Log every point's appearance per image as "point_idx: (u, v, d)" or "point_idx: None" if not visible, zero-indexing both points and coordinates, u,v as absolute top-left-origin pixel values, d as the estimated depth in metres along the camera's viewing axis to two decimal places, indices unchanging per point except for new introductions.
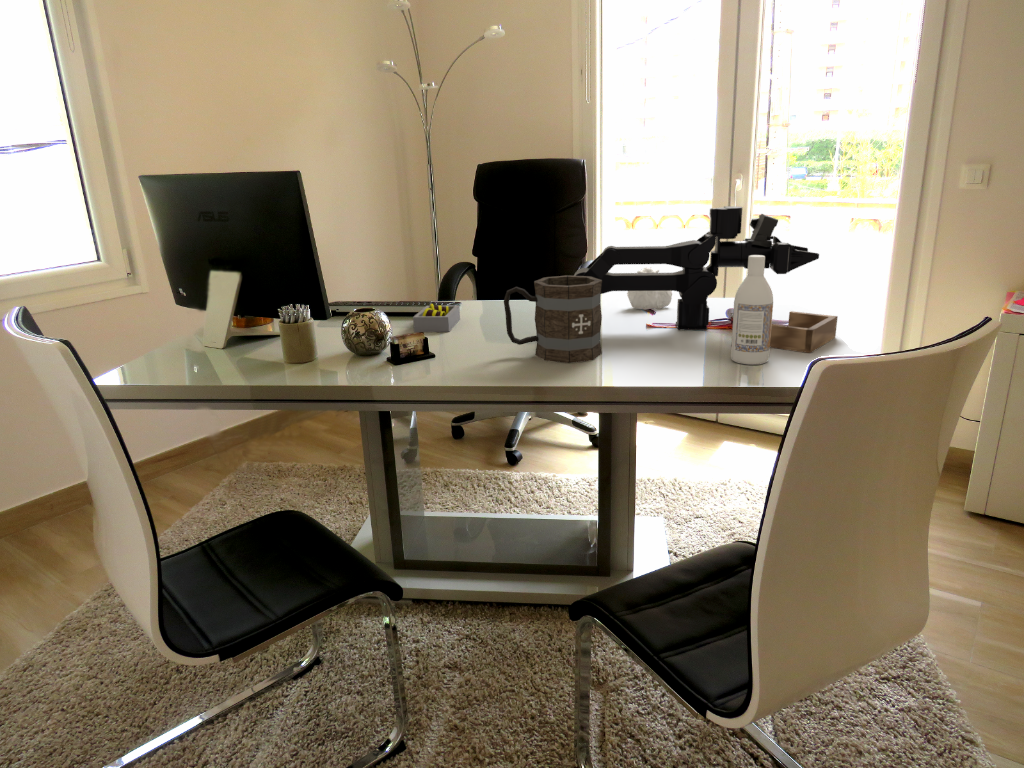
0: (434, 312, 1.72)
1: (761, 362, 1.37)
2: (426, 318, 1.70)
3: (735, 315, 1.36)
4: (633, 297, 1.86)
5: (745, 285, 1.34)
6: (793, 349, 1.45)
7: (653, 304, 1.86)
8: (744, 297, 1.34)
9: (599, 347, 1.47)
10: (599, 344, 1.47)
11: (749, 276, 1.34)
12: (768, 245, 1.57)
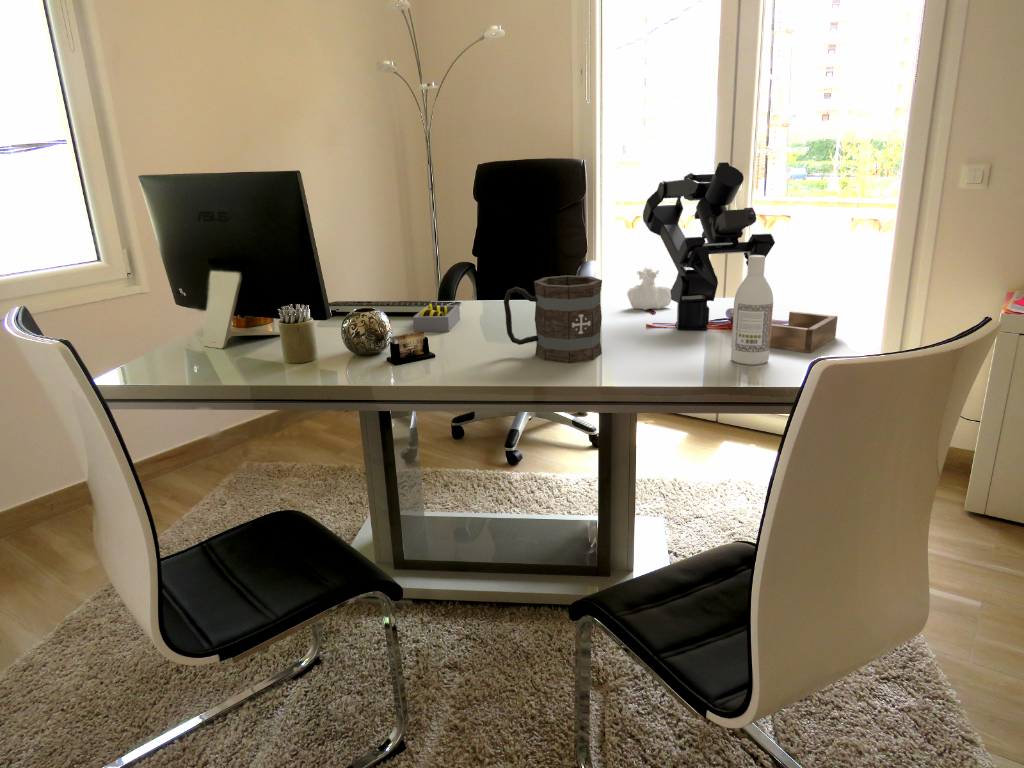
0: (431, 312, 1.72)
1: (761, 362, 1.37)
2: (426, 318, 1.70)
3: (735, 315, 1.36)
4: (633, 297, 1.86)
5: (745, 285, 1.34)
6: (793, 349, 1.45)
7: (653, 304, 1.86)
8: (744, 297, 1.34)
9: (599, 347, 1.47)
10: (599, 344, 1.47)
11: (749, 276, 1.34)
12: (713, 235, 1.46)
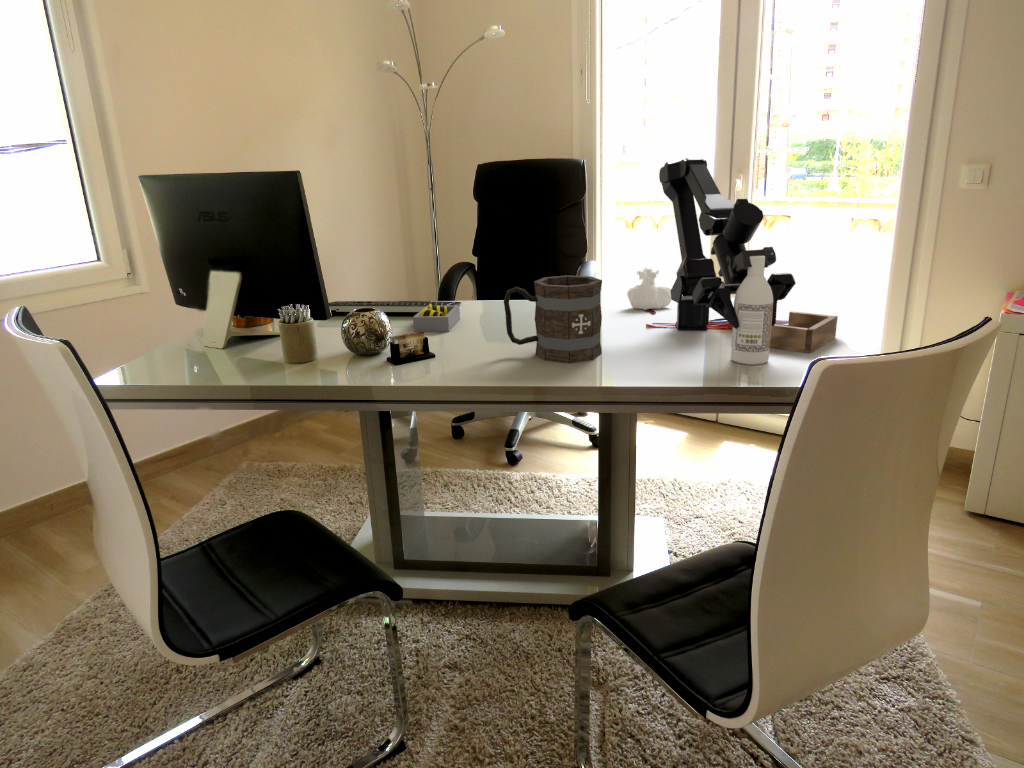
0: (431, 312, 1.72)
1: (761, 362, 1.37)
2: (426, 318, 1.70)
3: None
4: (633, 297, 1.86)
5: (745, 285, 1.34)
6: (793, 349, 1.45)
7: (653, 304, 1.86)
8: (744, 297, 1.34)
9: (599, 347, 1.47)
10: (599, 344, 1.47)
11: (749, 276, 1.34)
12: (730, 275, 1.39)
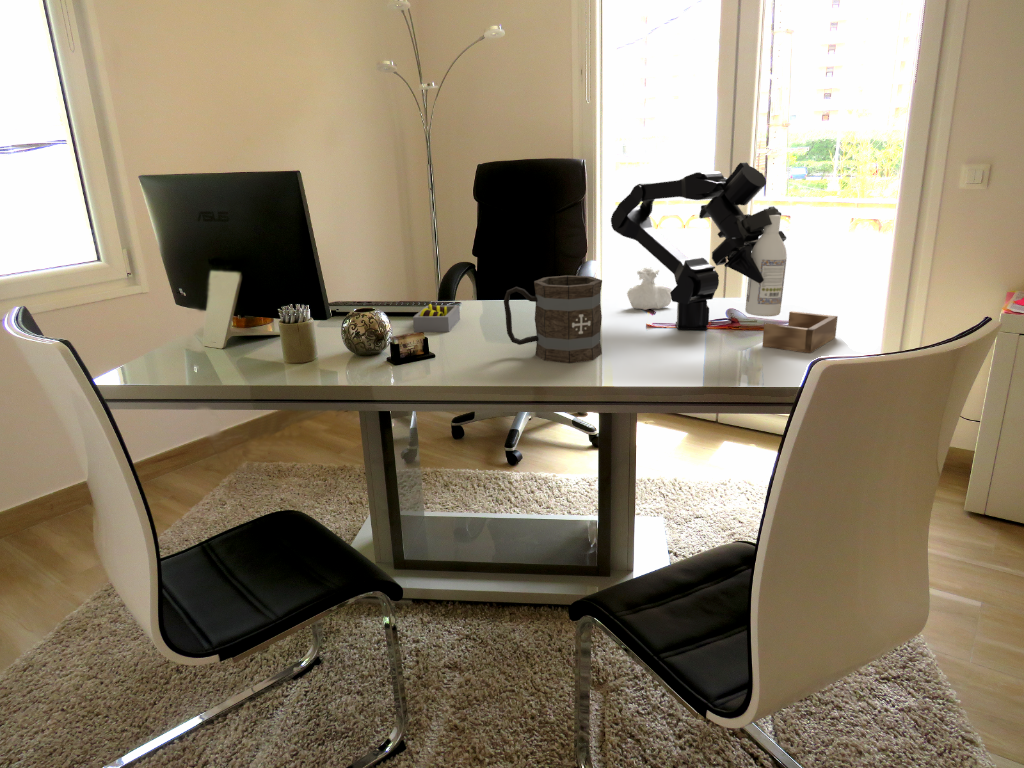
0: (431, 312, 1.72)
1: (779, 313, 1.49)
2: (426, 318, 1.70)
3: None
4: (633, 297, 1.86)
5: (768, 242, 1.45)
6: (793, 349, 1.45)
7: (653, 304, 1.86)
8: (768, 253, 1.44)
9: (599, 347, 1.47)
10: (599, 344, 1.47)
11: (769, 234, 1.45)
12: (743, 235, 1.48)
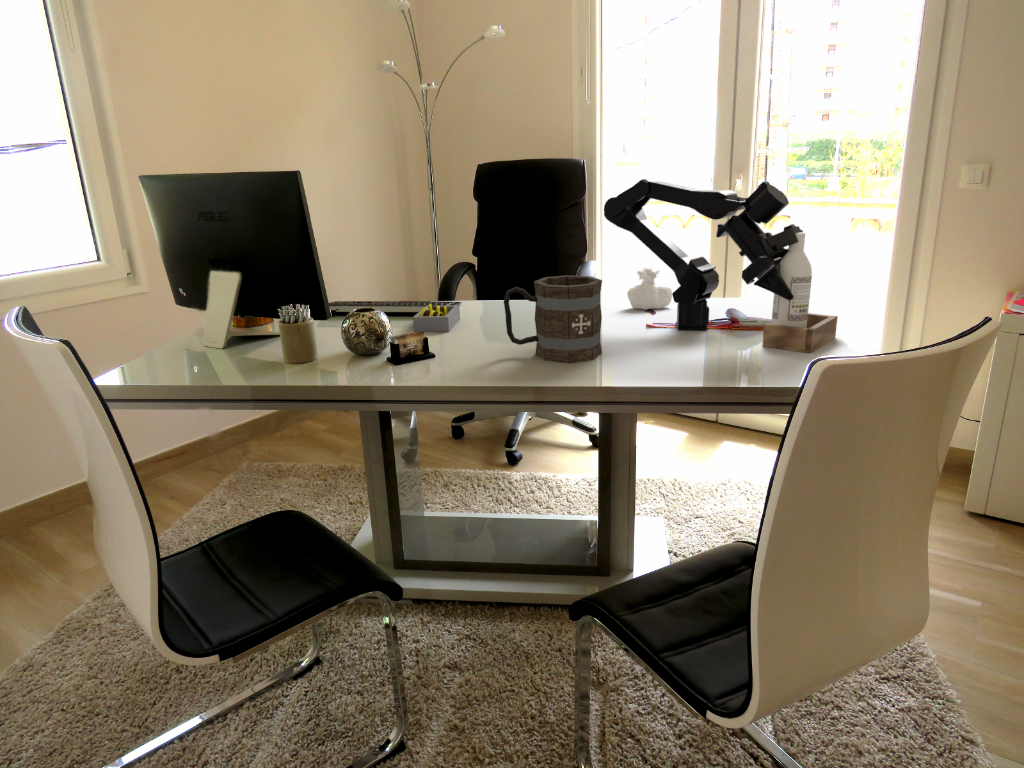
0: (431, 312, 1.72)
1: None
2: (426, 318, 1.70)
3: None
4: (633, 297, 1.86)
5: (796, 260, 1.46)
6: (793, 349, 1.45)
7: (653, 304, 1.86)
8: (797, 271, 1.46)
9: (599, 346, 1.47)
10: (599, 344, 1.47)
11: (795, 251, 1.47)
12: (769, 253, 1.48)
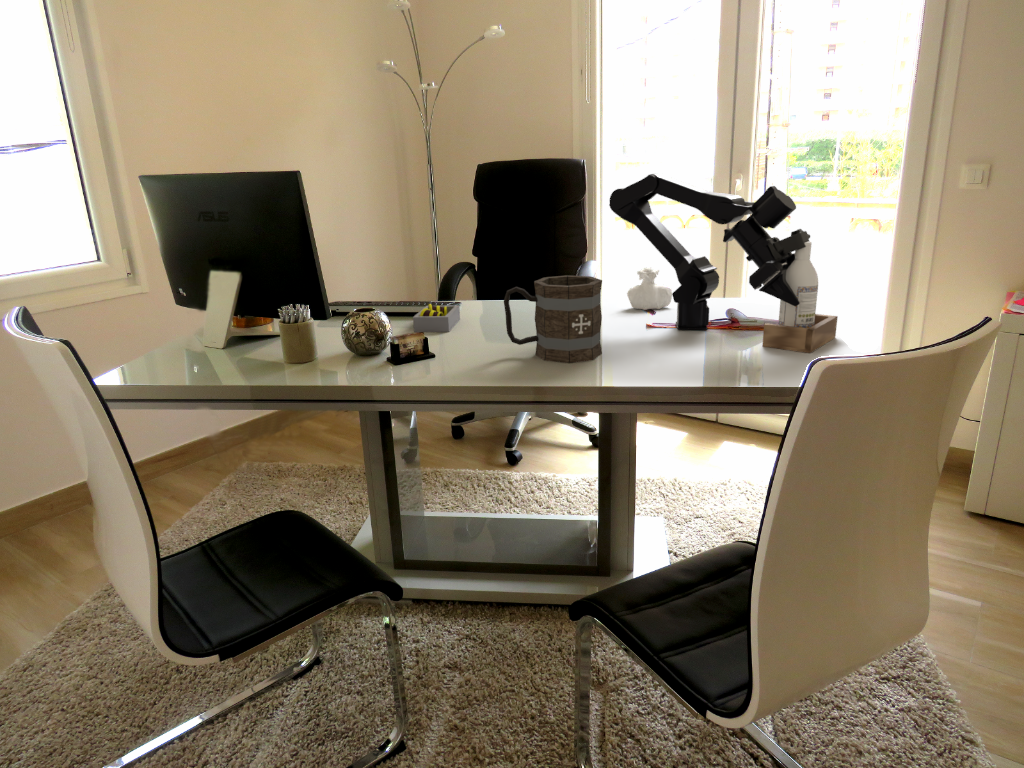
0: (431, 312, 1.72)
1: None
2: (426, 318, 1.70)
3: None
4: (633, 297, 1.86)
5: (802, 269, 1.45)
6: (793, 349, 1.45)
7: (653, 304, 1.86)
8: (804, 280, 1.45)
9: (599, 347, 1.47)
10: (599, 344, 1.47)
11: (802, 261, 1.46)
12: (776, 258, 1.48)
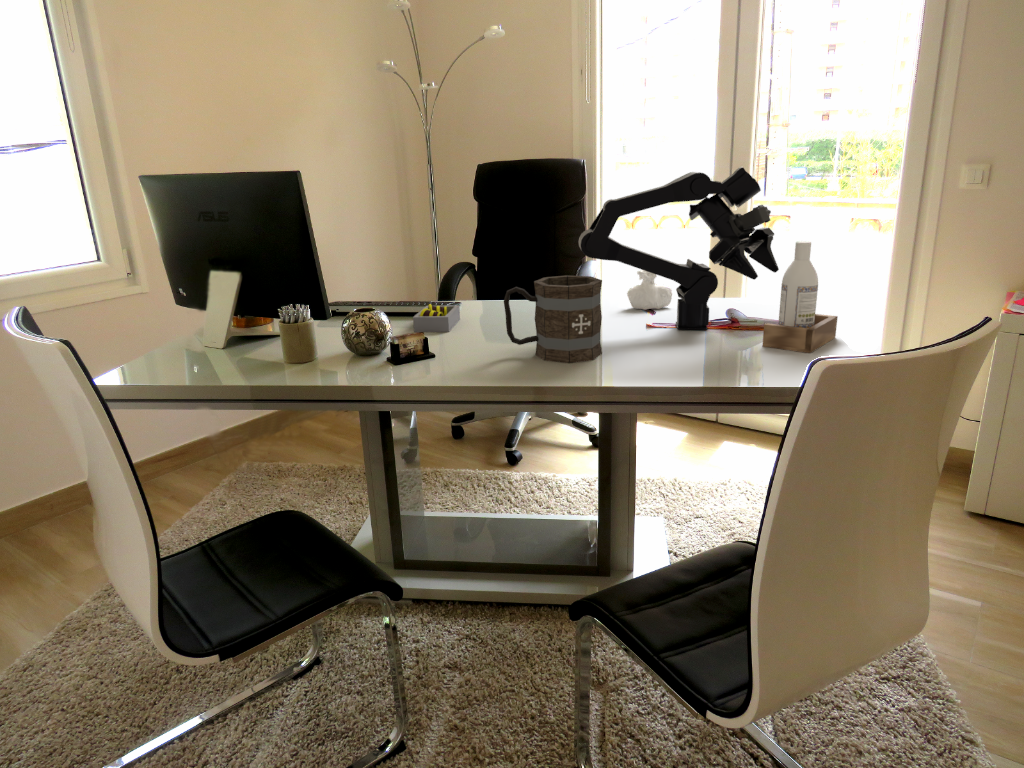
0: (431, 312, 1.72)
1: None
2: (426, 318, 1.70)
3: (792, 298, 1.47)
4: (633, 297, 1.86)
5: (802, 269, 1.45)
6: (793, 349, 1.45)
7: (653, 304, 1.86)
8: (804, 280, 1.45)
9: (599, 347, 1.47)
10: (599, 344, 1.47)
11: (801, 261, 1.46)
12: (736, 233, 1.54)
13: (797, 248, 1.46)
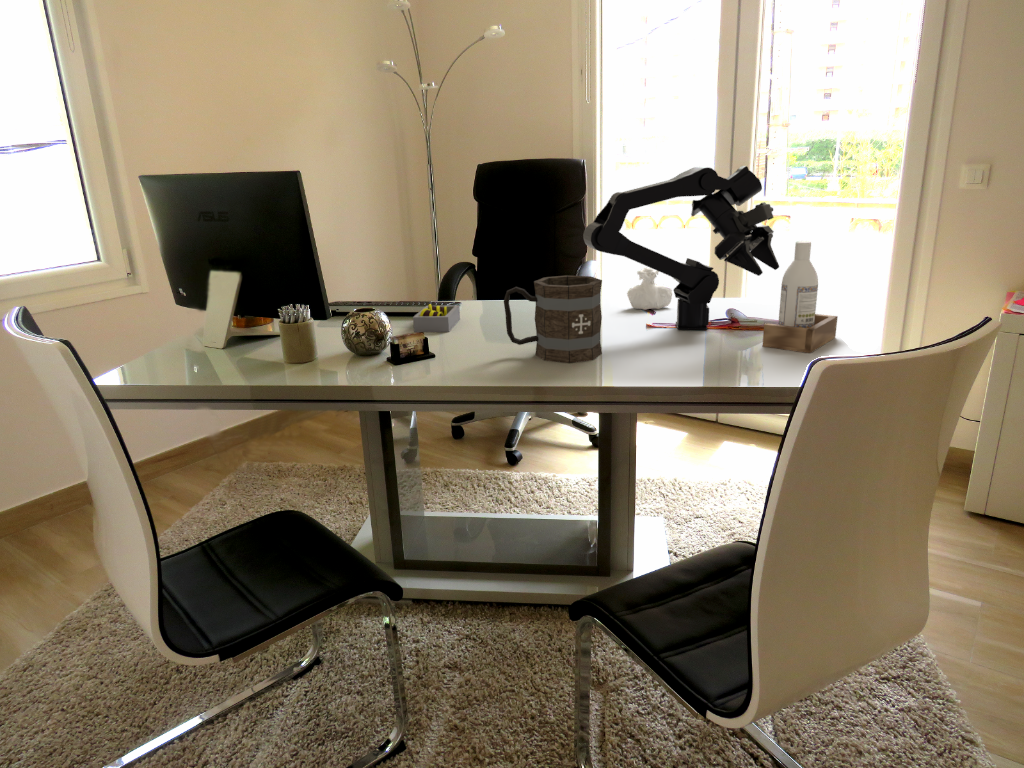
0: (431, 312, 1.72)
1: None
2: (426, 318, 1.70)
3: (792, 298, 1.47)
4: (633, 297, 1.86)
5: (802, 269, 1.45)
6: (793, 349, 1.45)
7: (653, 304, 1.86)
8: (803, 280, 1.45)
9: (599, 346, 1.47)
10: (599, 344, 1.47)
11: (801, 261, 1.46)
12: (741, 230, 1.54)
13: (797, 248, 1.46)
